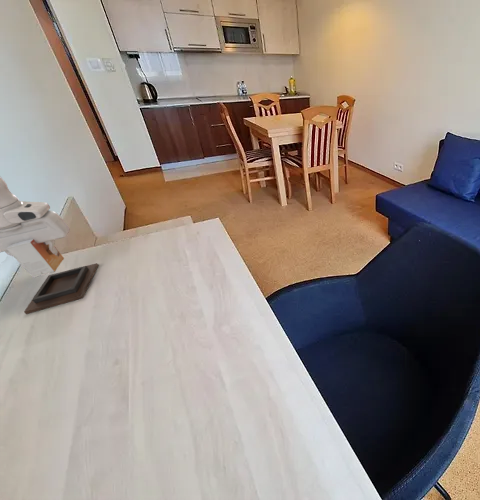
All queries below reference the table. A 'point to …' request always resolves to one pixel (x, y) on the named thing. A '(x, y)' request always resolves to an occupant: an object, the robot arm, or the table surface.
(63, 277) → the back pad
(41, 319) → the table surface
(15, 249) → the small box
